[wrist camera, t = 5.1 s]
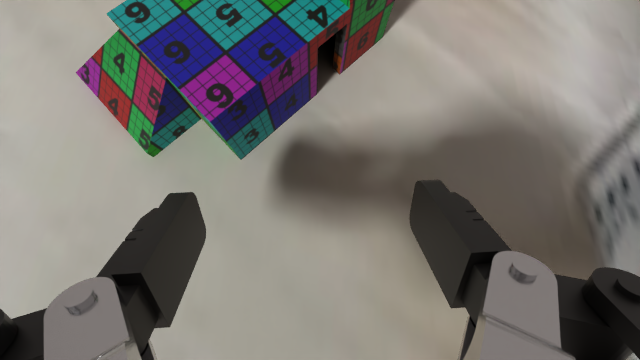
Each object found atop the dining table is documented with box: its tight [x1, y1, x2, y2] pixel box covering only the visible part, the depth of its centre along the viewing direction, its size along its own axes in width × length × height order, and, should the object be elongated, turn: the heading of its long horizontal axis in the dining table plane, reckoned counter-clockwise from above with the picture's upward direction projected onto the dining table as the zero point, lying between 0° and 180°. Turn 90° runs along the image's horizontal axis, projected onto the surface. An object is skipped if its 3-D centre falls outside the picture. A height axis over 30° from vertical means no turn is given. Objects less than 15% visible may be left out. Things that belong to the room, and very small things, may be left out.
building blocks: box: [76, 0, 394, 159], centre depth 13 cm, size 15×10×8 cm
